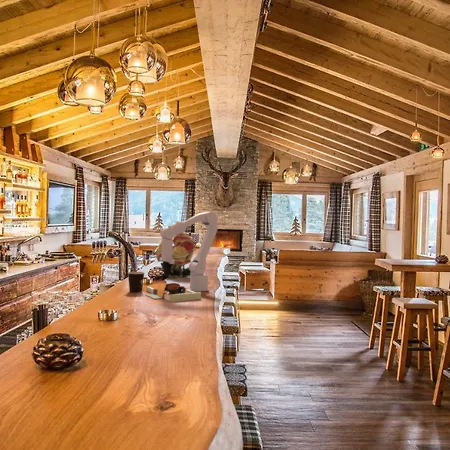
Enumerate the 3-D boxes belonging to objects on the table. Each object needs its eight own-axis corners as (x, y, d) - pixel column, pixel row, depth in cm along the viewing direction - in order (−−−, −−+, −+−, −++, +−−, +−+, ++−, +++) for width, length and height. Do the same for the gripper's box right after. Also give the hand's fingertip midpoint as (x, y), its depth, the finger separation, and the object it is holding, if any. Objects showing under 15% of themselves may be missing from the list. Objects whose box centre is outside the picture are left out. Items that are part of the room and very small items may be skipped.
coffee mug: (135, 293, 230) (135, 274, 229) (124, 291, 235) (124, 272, 234) (151, 290, 239) (152, 272, 238) (140, 288, 244) (141, 270, 244)
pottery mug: (160, 299, 219) (160, 283, 223) (169, 304, 227) (169, 289, 231) (181, 295, 215) (182, 279, 219) (190, 301, 223) (190, 285, 227)
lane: (178, 288, 248) (178, 282, 248) (205, 298, 222) (205, 292, 221) (137, 291, 236) (137, 285, 236) (161, 302, 209) (161, 295, 209)
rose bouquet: (152, 273, 305) (153, 230, 305) (193, 272, 314) (195, 230, 314) (158, 279, 281) (159, 231, 280) (203, 278, 290) (204, 232, 289)
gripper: (154, 249, 240) (154, 274, 240) (165, 252, 227) (165, 278, 228) (166, 249, 243) (166, 273, 244) (178, 251, 231) (177, 277, 231)
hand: (166, 276), depth 236 cm, fingers closed
